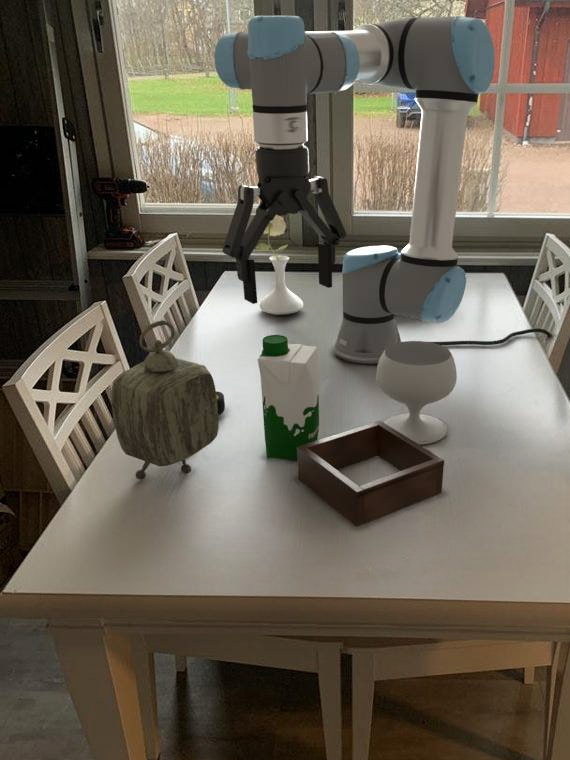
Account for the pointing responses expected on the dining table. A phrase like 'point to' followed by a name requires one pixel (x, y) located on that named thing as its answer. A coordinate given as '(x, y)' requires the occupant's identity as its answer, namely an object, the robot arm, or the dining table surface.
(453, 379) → the chalice
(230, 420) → the dining table surface
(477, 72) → the robot arm
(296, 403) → the soya milk
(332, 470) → the crate
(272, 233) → the flower in vase
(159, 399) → the tabletop clock
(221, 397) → the tape measure
